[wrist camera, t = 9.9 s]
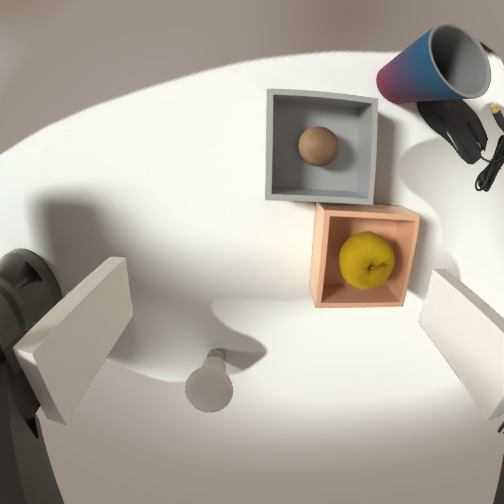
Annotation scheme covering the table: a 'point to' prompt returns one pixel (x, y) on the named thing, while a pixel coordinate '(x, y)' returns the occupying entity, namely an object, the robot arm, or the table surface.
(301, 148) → the brown ball
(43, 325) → the robot arm
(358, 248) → the apple
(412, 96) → the cup
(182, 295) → the table surface
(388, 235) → the orange square tray
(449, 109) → the computer mouse
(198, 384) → the lightbulb
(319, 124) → the grey square tray
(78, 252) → the table surface
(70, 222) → the table surface
